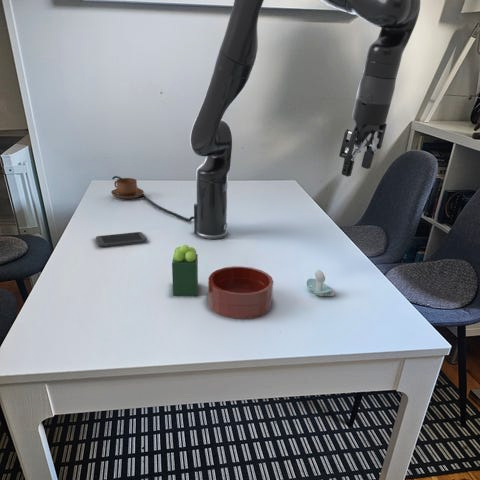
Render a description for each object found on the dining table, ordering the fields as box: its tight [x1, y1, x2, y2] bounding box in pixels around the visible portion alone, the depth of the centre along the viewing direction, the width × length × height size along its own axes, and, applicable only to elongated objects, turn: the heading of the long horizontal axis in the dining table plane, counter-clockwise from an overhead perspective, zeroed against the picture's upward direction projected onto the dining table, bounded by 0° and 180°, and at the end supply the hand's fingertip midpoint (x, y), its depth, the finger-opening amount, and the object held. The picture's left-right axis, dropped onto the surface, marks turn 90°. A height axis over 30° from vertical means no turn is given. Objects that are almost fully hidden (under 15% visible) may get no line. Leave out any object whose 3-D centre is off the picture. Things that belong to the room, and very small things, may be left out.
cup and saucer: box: [110, 177, 144, 200], centre depth 174 cm, size 12×12×6 cm
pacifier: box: [306, 269, 336, 297], centre depth 111 cm, size 7×6×6 cm
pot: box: [207, 265, 274, 320], centre depth 105 cm, size 15×15×6 cm
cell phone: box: [95, 231, 148, 248], centre depth 136 cm, size 7×14×1 cm, turn 113°
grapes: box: [171, 244, 199, 297], centre depth 108 cm, size 6×6×12 cm
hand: (355, 171), depth 109 cm, fingers open, 8 cm apart
